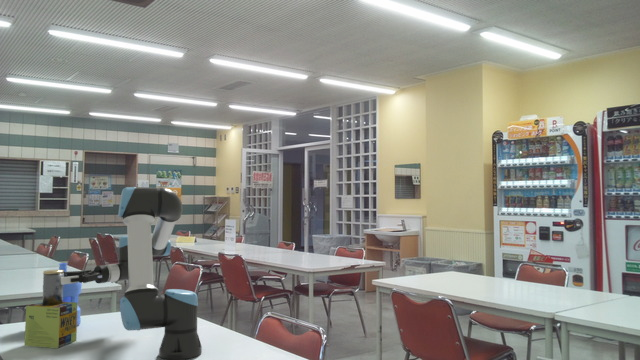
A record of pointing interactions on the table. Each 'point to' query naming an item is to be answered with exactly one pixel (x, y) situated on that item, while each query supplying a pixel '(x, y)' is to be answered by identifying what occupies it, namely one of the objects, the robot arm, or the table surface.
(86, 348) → the table surface
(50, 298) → the gold and gray tin
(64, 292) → the water jug
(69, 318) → the protein box
